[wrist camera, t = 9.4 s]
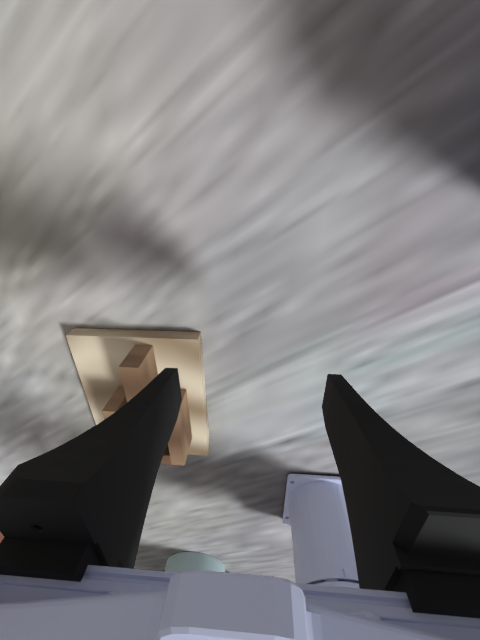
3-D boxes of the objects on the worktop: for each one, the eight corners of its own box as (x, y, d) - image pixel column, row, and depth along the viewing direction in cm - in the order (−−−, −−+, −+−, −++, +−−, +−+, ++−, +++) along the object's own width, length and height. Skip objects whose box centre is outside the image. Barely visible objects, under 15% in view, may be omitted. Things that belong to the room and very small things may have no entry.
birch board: (209, 445, 30) (207, 455, 29) (110, 439, 30) (104, 449, 29) (200, 331, 23) (197, 339, 22) (74, 328, 24) (65, 335, 23)
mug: (164, 574, 45) (140, 672, 36) (169, 547, 41) (143, 650, 32) (247, 589, 45) (243, 690, 37) (260, 564, 41) (260, 670, 32)
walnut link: (192, 437, 28) (184, 465, 25) (131, 434, 28) (117, 461, 25) (181, 346, 23) (170, 369, 20) (107, 343, 23) (87, 365, 20)
